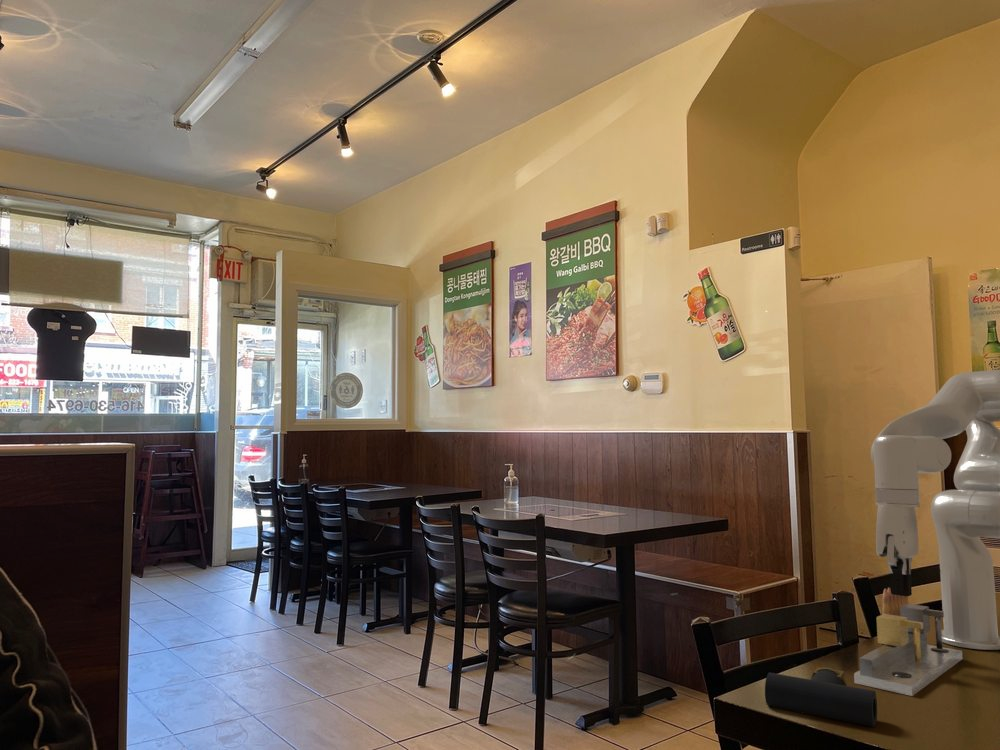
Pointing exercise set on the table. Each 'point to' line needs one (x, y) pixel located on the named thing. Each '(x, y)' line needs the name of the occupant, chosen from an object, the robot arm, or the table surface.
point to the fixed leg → (923, 619)
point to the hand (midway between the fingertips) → (901, 594)
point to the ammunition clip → (892, 603)
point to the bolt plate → (905, 666)
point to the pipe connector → (822, 696)
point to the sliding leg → (898, 632)
